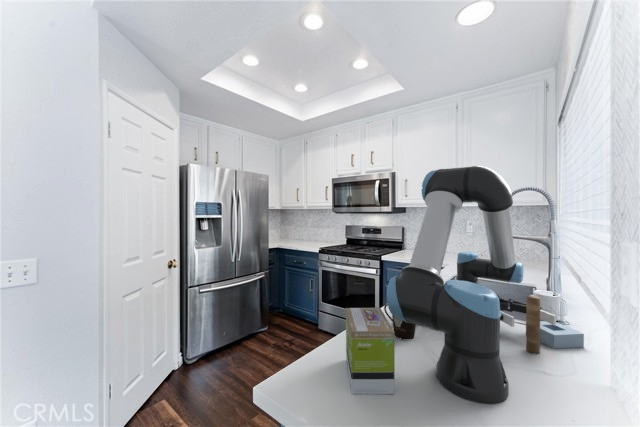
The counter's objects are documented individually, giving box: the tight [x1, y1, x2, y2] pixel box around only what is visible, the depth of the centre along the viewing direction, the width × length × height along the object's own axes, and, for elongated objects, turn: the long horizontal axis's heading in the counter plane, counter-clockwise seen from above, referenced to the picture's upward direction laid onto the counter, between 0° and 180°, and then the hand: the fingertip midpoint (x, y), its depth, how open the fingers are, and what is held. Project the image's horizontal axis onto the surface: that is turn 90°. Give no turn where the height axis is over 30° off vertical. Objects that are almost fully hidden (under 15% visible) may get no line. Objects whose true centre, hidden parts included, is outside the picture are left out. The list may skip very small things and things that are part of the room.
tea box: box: [345, 307, 396, 396], centre depth 68 cm, size 15×10×15 cm
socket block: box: [540, 320, 585, 349], centre depth 88 cm, size 10×10×4 cm
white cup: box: [533, 289, 562, 321], centre depth 105 cm, size 8×8×10 cm
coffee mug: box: [383, 303, 416, 340], centre depth 92 cm, size 12×9×10 cm
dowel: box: [525, 295, 541, 355], centre depth 81 cm, size 3×3×16 cm
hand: (534, 321), depth 81 cm, fingers open, 13 cm apart
